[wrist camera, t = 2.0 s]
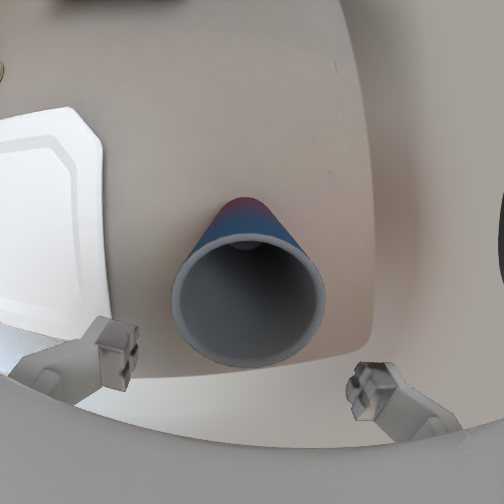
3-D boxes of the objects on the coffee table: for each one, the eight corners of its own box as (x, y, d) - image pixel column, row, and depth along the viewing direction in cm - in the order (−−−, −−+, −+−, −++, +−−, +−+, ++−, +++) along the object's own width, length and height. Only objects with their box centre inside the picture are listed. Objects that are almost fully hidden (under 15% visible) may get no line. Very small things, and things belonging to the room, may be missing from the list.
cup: (278, 182, 26) (322, 222, 12) (286, 255, 28) (326, 358, 14) (201, 192, 26) (154, 245, 12) (213, 264, 28) (190, 374, 14)
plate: (-18, 308, 30) (-27, 315, 27) (-39, 133, 22) (-50, 134, 19) (122, 340, 31) (116, 352, 29) (114, 104, 23) (104, 101, 21)
